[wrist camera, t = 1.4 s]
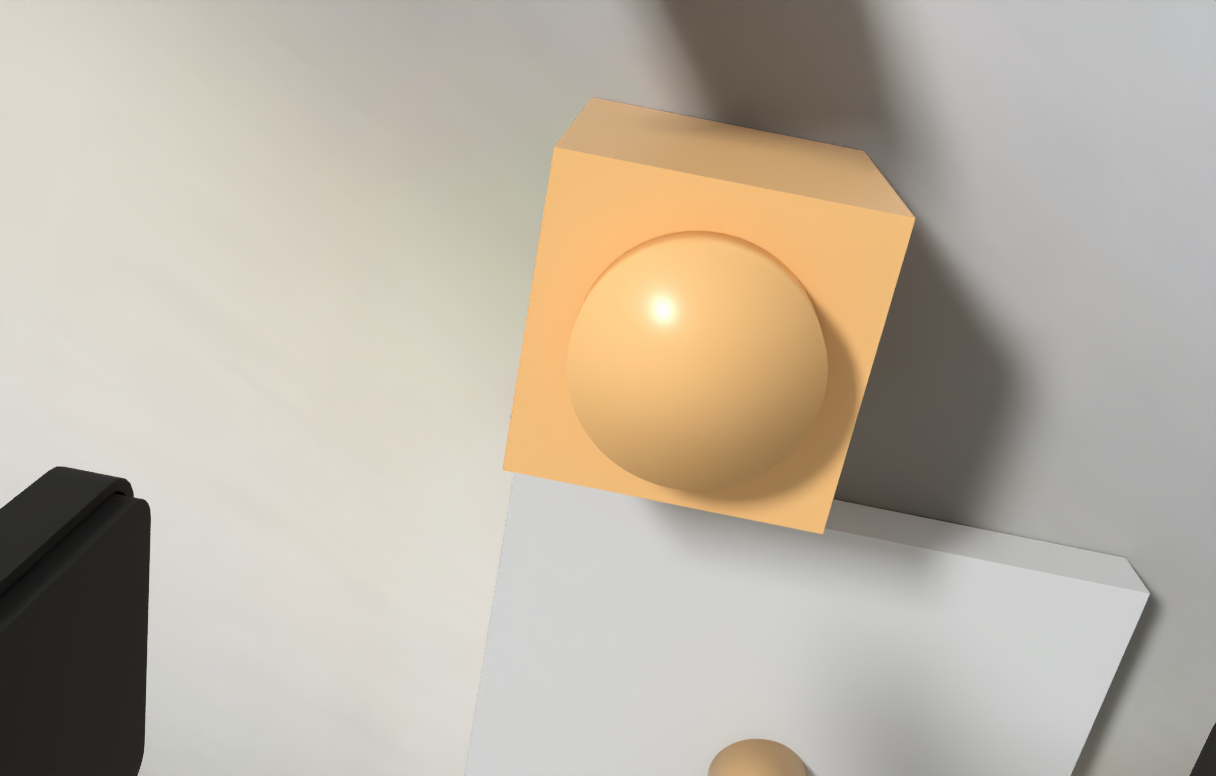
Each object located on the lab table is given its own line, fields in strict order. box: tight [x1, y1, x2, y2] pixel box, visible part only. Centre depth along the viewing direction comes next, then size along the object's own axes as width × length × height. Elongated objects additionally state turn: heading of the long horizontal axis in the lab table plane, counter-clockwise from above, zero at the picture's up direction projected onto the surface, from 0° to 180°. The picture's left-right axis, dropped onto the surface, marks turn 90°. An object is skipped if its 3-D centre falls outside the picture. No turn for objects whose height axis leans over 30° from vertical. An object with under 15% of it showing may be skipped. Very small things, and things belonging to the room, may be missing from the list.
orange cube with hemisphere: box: [503, 97, 916, 534], centre depth 20 cm, size 6×6×7 cm
